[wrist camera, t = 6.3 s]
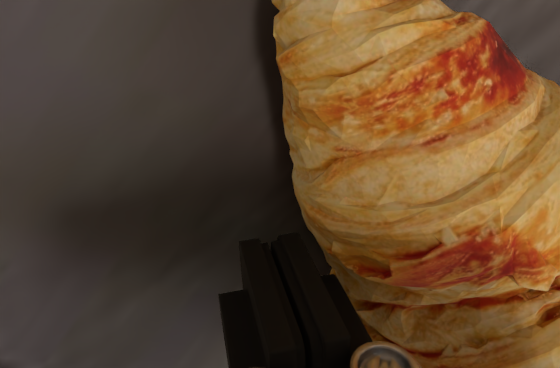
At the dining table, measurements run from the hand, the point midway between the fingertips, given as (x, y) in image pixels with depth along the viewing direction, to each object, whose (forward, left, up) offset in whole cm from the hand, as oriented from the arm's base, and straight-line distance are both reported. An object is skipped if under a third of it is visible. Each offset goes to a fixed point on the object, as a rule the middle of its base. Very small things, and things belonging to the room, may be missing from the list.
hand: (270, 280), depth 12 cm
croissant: (+7, 0, -2) cm, 7 cm away
